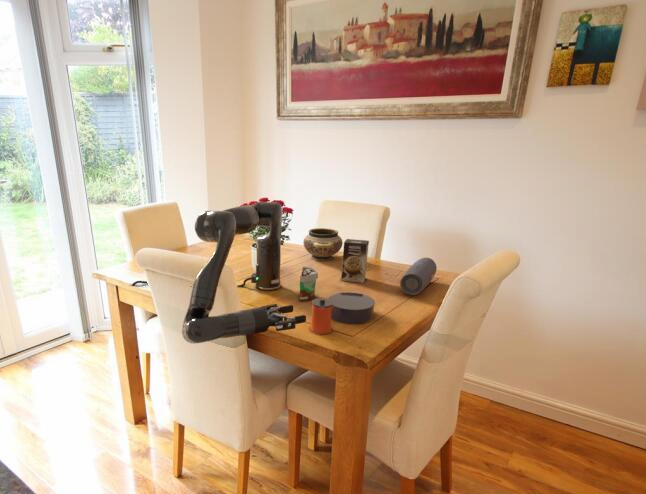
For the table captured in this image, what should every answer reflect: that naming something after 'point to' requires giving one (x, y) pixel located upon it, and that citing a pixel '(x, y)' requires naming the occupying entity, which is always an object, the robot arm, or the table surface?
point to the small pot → (321, 315)
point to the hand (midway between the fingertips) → (298, 313)
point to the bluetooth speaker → (418, 276)
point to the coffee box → (354, 260)
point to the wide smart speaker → (352, 307)
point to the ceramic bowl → (322, 243)
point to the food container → (307, 283)
